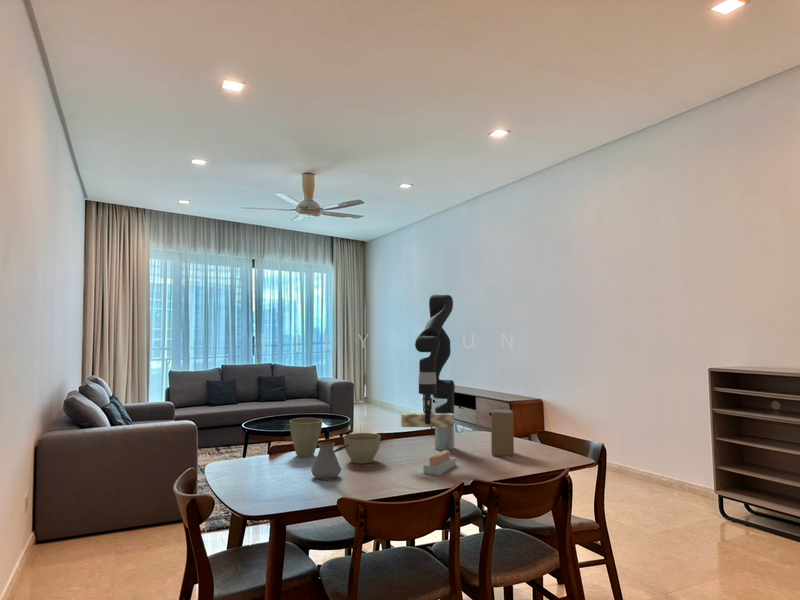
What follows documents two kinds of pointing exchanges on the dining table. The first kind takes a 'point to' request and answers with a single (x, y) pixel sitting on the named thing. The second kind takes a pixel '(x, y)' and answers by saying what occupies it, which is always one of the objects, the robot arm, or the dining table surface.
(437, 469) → the fulcrum
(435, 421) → the batten
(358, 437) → the planter bowl
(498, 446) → the wooden block
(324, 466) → the coffee pot
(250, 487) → the dining table surface
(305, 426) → the plant pot
